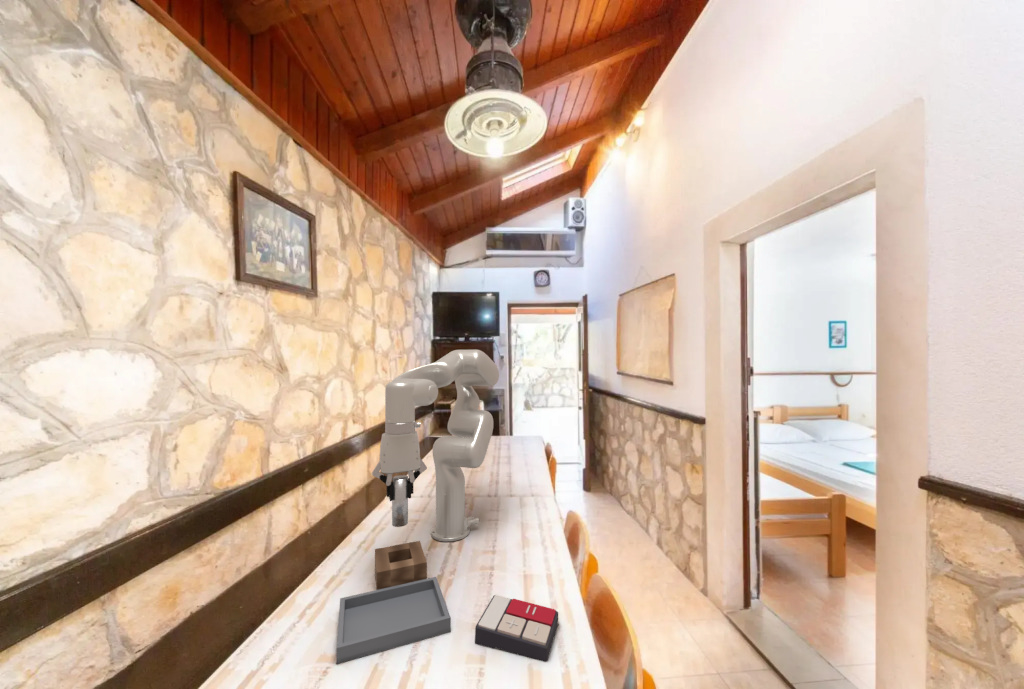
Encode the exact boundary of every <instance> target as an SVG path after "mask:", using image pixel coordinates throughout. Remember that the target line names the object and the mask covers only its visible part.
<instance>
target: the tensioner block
mask: <svg viewBox="0 0 1024 689" xmlns="http://www.w3.org/2000/svg"><path fill="white" fill-rule="evenodd" d="M427 564H428V561H427V559H426V555H425V552H424V550H423V546H422V543H421V541H420V540H417V541H416V540H415V541H412V542H405V543H400V544H396V545H390V546H385V547H379V548H374V576H375V578H374V579H375V581H374V582H375V590H379V589H384V588H388V587H393V586H397V585H401V584H406V583H410V582H415V581H419V580H424V579H428V565H427Z"/></svg>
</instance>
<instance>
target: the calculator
mask: <svg viewBox="0 0 1024 689" xmlns="http://www.w3.org/2000/svg"><path fill="white" fill-rule="evenodd" d="M558 626H559V612H558V611H557V610H556V609H554V608H550V607H546V606H543V605H539V604H535V603H531V602H528V601H525V600H521V599H516V598H509V597H506V596H502V595H498V594H494V595H493V596H492V598H491V600H490V602H489V603H488V604H487V606H486V608H485V610H484V611H483V613H482V615H481V616H480V618H479V620H478V621H477V623H476V625H475V631H474V644H475V645H477V646H482V647H485V648H488V649H499V650H502V651H504V652H508V653H510V654H514V655H517V656H522V657H525V658H529V659H532V660H537V661H541V662H548V659H549V656H550V652H551V650H552V645H553V643H554V639H555V635H556V633H557V628H558Z"/></svg>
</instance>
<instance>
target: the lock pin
mask: <svg viewBox="0 0 1024 689" xmlns="http://www.w3.org/2000/svg"><path fill="white" fill-rule="evenodd" d="M408 478H409V476H408V475H405V474H399V475H395V476H392V480H391V481H392V485H393V500H392V501H391V526H393V527H394V528H401V527H405V526H407V525H408V523H409V498H408Z"/></svg>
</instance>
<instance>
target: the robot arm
mask: <svg viewBox="0 0 1024 689" xmlns="http://www.w3.org/2000/svg"><path fill="white" fill-rule="evenodd" d="M499 378H500V371H499V368H498V365H497V364H496V363H495V361H493V360H492V358H491V357H489V355H488V354H487V353H485V352H484V351H482V350H481V349H455V350H452V351H450V352H449V353H447V354H445V355H444V356H442V357H441V358H439V359H438V360H436V361H435V362H430V363H428V364H425V365H421V366H419V367H415V368H411V369H409V370H407V371H405V372H403V373H401V374H400V375H398V376H395V377H394V379H393V380H391V381H389V382H388V383H387V384H386V386H385V392H384V393H385V394H384V397H385V400H384V401H385V405H384V406H385V407H384V408H385V412H384V417H385V418H384V420H385V422H384V425H385V426H384V428H385V430H384V432H383V433H381V438H380V447H379V460H378V463H377V464H376V465H375V467H374V468H373V470H372V472H371V475H372V476H373V477H375V478H377V479H379V480H380V481H381V482H382V483H384V484H385V485H386V498H388V499H389V502H392V500H393V485H392V478H393V474H400V473H401V474H402V473H407V474H408V475H407V476H408V499H412V494H413V495H414V483H415V482H416V480H417V479H418V477H420V475H421V474H423V472H425V471H426V470H427V469H428V467H427V465H426V464H425V462H424V460H422V458H421V450H420V442H419V440H420V439H419V434H418V431H416V430H417V429H418V428H421V422H417V421H416V420H415V419H416V412H415V410H416V407H422V406H425V407H426V406H430V405H432V404H433V403H435V401H436V400H437V398H438V396H439V389H440V388H444V387H447V386H449V385H451V384H452V383H453V382H454V383H455V388H456V393H457V394H456V395H457V396H456V401H455V403H454V406H453V408H452V411H451V414H450V416H449V418H448V421H447V431H448V433H449V434H450V435H444V436H440V437H438V438H437V439H436V440H435V441H434V443H433V445H432V458H433V464H434V469H435V525H434V526H433V527H432V528H431V529H430V535H431V538H433V539H434V540H437V541H439V542H445V543H446V542H456V541H460V540H462V539H464V538H466V537H467V536H468V535H469V534H470V533H471V532H470V530H471V528H470V527H471V526H472V525H474V526H476V525H479V524H480V518H479V517H474V516H471V515H470V516H468V517H467V516H466V478H465V474H464V472H463V470H462V468H467V469H477V468H479V467H481V466H482V464H483V463H484V461H485V458H486V455H487V452H488V449H489V445H490V441H491V439H492V436H493V432H494V431H493V430H494V418H493V415H492V414H491V412H489V411H488V410H486V409H485V410H484V409H479V407H480V402H481V401H480V397H479V394H477V392H476V390H475V389H474V388H473V387H492V386H495V385H496V384H497V383H498V382H499Z"/></svg>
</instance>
